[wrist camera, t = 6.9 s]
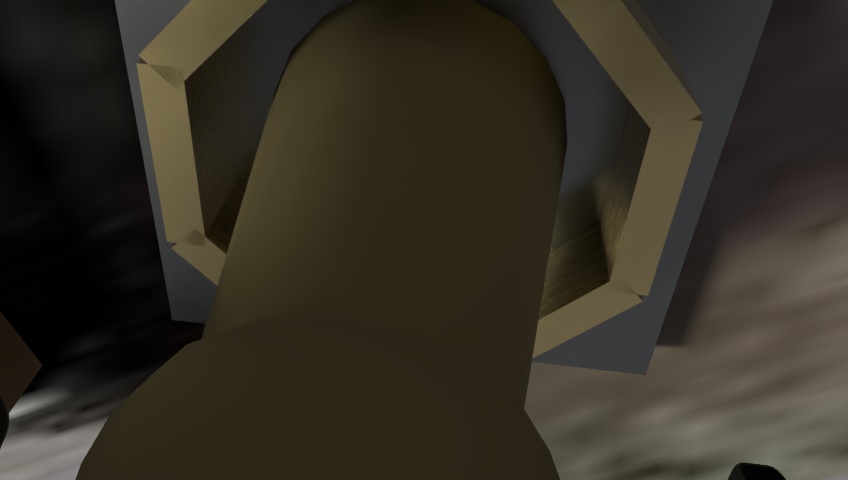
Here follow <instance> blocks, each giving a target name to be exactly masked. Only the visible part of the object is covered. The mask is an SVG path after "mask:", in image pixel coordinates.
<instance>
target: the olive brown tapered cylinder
mask: <svg viewBox="0 0 848 480" xmlns="http://www.w3.org/2000/svg"><path fill="white" fill-rule="evenodd" d="M567 144H568V143H567V126H566V110H565V100H564V97H563V95H562V93H561V90H560V88H559V86H558V84H557V81H556V79H555V77H554V75H553V72H552V70H551V68H550V65H549V63H548V61H547V59H546V57H545V56H544V55H543V54H542V53H541V52H540V51H539V50H538V49H537V48H536V47H535V46H534V45H533V43H532V42H531V41H530V40H529V39H528V38H527V37H526V36H525V35H524V34H523V33H522V32H521V31H520V30H519V28H518V27H517V26H516V25H515V24H514V23H513V22H511V21H509V20H507V19H506V18H504V17H502V16H500V15H498V14H496V13H494V12H493V11H491V10H489V9H487V8H485V7H483V6H482V5H480V4H478V3H476V2H474V1H472V0H355V1H353V2H351V3H349V4H347V5H345V6H343V7H341V8H339V9H337V10H335V11H334V12H332V13H330V14H328V15H326V16H324V17H322V18H321V19H320V20H319V21H318V22H317V24H316V25H315V26H314V27H313V28H312V29H311V30H310V31H309V32H308V33H307V34H306V35H305V36H304V37H303V38H302V39H301V41H300V42H299V43H298V44H297V45H296V46H295V47H294V48H293V49H292V50H291V53H290V55H289V58H288V60H287V62H286V65H285V67H284V70H283V72H282V74H281V77H280V79H279V82H278V84H277V87H276V89H275V92H274V95H273V99H272V102H271V106H270V109H269V112H268V116H267V119H266V123H265V126H264V129H263V133H262V136H261V140H260V143H259V146H258V150H257V153H256V157H255V160H254V163H253V167H252V170H251V174H250V177H249V180H248V184H247V187H246V191H245V194H244V197H243V201H242V204H241V207H240V211H239V214H238V218H237V221H236V224H235V228H234V231H233V235H232V238H231V241H230V245H229V248H228V252H227V255H226V258H225V262H224V265H223V269H222V272H221V275H220V279H219V282H218V286H217V289H216V292H215V296H214V299H213V302H212V306H211V309H210V313H209V316H208V319H207V323H206V326H205V330H204V333H203V336H202V339H201V340H198V341H196V342H193V343H190V344H187V345H186V346H185V347H184V348H183V349H181V350H180V351H179V352H178V353H177V354H175V355H174V356H173V357H172V358H171V359H170V360H168V361H167V362H166V363H165V364H164V365H163V366H161V367H160V368H159V369H158V370H157V371H156V372H154V373H153V374H152V375H151V376H150V377H149V378H147V379H146V380H145V381H144V382H143V383H142V384H141V385H140V386H139V387H138V388H137V389H136V390H135V391H134V392H133V393H132V394H131V395H130V396H129V397H128V398H127V399H126V400H125V401H124V402H123V403H122V404H121V405H120V406H119V407H118V408H117V409H116V410H115V411H114V412H113V413H112V414H111V415H110V416H109V418H108V419H107V421H106V423H105V425H104V426H103V428H102V430H101V431H100V433H99V435H98V436H97V438H96V440H95V441H94V443H93V445H92V446H91V448H90V450H89V451H88V453H87V455H86V456H85V458H84V460H83V462H82V463H81V466H80V469H79V471H78V474H77V477H76V480H560V478H559V475H558V473H557V470H556V467H555V464H554V462H553V459H552V456H551V453H550V451H549V449H548V448H547V446H546V444H545V443H544V441H543V439H542V438H541V436H540V435H539V433H538V431H537V430H536V428H535V426H534V425H533V423H532V422H531V420H530V418H529V417H528V415H527V413H526V412H525V410H524V405H525V399H526V393H527V387H528V381H529V375H530V369H531V363H532V357H533V350H534V344H535V338H536V332H537V326H538V320H539V314H540V308H541V302H542V296H543V290H544V284H545V278H546V271H547V265H548V259H549V253H550V247H551V241H552V235H553V229H554V223H555V217H556V211H557V205H558V199H559V192H560V186H561V180H562V174H563V168H564V162H565V156H566V150H567Z"/></svg>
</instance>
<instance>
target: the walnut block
mask: <svg viewBox="0 0 848 480" xmlns="http://www.w3.org/2000/svg"><path fill="white" fill-rule="evenodd" d="M41 367H42V364H41V363H40V362H39V360H38V359H37V358H36V356H35V355H34V354H33V353H32V351H31V350H30V349H29V347H28V346H27V345H26V344H25V342H24V341H23V340H22V338H21V337H20V336H19V335H18V333H17V332H16V331H15V329H14V328H13V327H12V326H11V324H10V323H9V322H8V320H7V319H6V318H5V316H4V315H3V314H2V313H1V311H0V393H1V395H2V398H3V400H4V403H5V406H6V408H7V411H8V414H9V412H10V411H11V410H12V408H13V407H14V405H15V404H16V402H17V401H18V400H19V398H20V397H21V395H22V394H23V392H24V391H25V390H26V388H27V387H28V385H29V384H30V382H31V381H32V380H33V378H34V377H35V375H36V374H37V373H38V371H39V370H40V368H41Z"/></svg>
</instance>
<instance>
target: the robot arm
mask: <svg viewBox="0 0 848 480" xmlns="http://www.w3.org/2000/svg"><path fill="white" fill-rule="evenodd" d="M8 427H9V414H8V411H7V408H6V406H5V403H4V400H3V398H2V395H1V393H0V448H1V446H2V444H3V441H4V439H5V437H6V434H7V431H8ZM728 480H786V479H785V478H784V476H783V475H782V474H781V473H780V472H779V471H778V470H776V469H775V468H773V467H771V466H768V465H760V464H752V463H739V464H737V465H736V466H735V467H734V468H733V470H732V472H731V474H730V476H729V478H728Z"/></svg>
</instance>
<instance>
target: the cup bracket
mask: <svg viewBox="0 0 848 480" xmlns="http://www.w3.org/2000/svg"><path fill="white" fill-rule="evenodd" d="M353 1H355V0H115V4H116V10H117V15H118V21H119V26H120V32H121V37H122V43H123V48H124V54H125V59H126V65H127V71H128V76H129V82H130V87H131V93H132V98H133V104H134V109H135V115H136V121H137V126H138V132H139V137H140V143H141V148H142V154H143V159H144V165H145V171H146V176H147V182H148V187H149V193H150V198H151V204H152V209H153V215H154V220H155V226H156V232H157V237H158V243H159V248H160V254H161V259H162V265H163V270H164V276H165V282H166V287H167V293H168V298H169V304H170V309H171V315H172V320H180V321H188V322H197V323H207V319H208V316H209V313H210V309H211V306H212V302H213V299H214V296H215V292H216V289H217V286H218V282H219V279H220V275H221V272H222V269H223V265H224V262H225V258H226V255H227V252H228V248H229V245H230V241H231V238H232V235H233V231H234V228H235V224H236V221H237V218H238V214H239V211H240V207H241V204H242V201H243V197H244V194H245V191H246V187H247V184H248V180H249V177H250V174H251V170H252V167H253V163H254V160H255V157H256V153H257V150H258V146H259V143H260V140H261V136H262V133H263V129H264V126H265V123H266V119H267V116H268V112H269V109H270V106H271V102H272V99H273V95H274V92H275V89H276V87H277V84H278V82H279V79H280V77H281V74H282V72H283V70H284V67H285V65H286V62H287V60H288V58H289V55H290V53H291V50H292V49H293V48H294V47H295V46H296V45H297V44H298V43H299V42H300V41H301V39H302V38H303V37H304V36H305V35H306V34H307V33H308V32H309V31H310V30H311V29H312V28H313V27H314V26H315V25H316V24H317V22H318V21H319V20H320V19H321V18H322V17H324V16H326V15H328V14H330V13H332V12H334V11H335V10H337V9H339V8H341V7H343V6H345V5H347V4H349V3H351V2H353ZM472 1H474V2H476V3H478V4H480V5H482V6H483V7H485V8H487V9H489V10H491V11H493V12H494V13H496V14H498V15H500V16H502V17H504V18H506V19H507V20H509V21H511V22H513V23H514V24H515V25H516V26H517V27H518V28H519V30H520V31H521V32H522V33H523V34H524V35H525V36H526V37H527V38H528V39H529V40H530V41H531V42H532V43H533V45H534V46H535V47H536V48H537V49H538V50H539V51H540V52H541V53H542V54H543V55H544V56H545V57H546V59H547V61H548V63H549V65H550V68H551V70H552V72H553V75H554V77H555V79H556V81H557V84H558V86H559V88H560V90H561V93H562V95H563V97H564V100H565V110H566V126H567V143H568V144H567V150H566V156H565V162H564V168H563V174H562V180H561V186H560V192H559V199H558V205H557V211H556V217H555V223H554V229H553V235H552V241H551V247H550V253H549V259H548V265H547V271H546V278H545V284H544V290H543V296H542V302H541V308H540V314H539V320H538V326H537V332H536V338H535V344H534V350H533V357H532V362H540V363H548V364H557V365H565V366H574V367H582V368H591V369H599V370H608V371H617V372H625V373H634V374H642V375H646V372H647V369H648V366H649V363H650V360H651V357H652V354H653V351H654V348H655V345H656V343H657V340H658V337H659V334H660V331H661V328H662V325H663V322H664V319H665V316H666V313H667V310H668V307H669V305H670V302H671V299H672V296H673V293H674V290H675V287H676V284H677V281H678V278H679V275H680V272H681V269H682V267H683V264H684V261H685V258H686V255H687V252H688V249H689V246H690V243H691V240H692V237H693V234H694V231H695V229H696V226H697V223H698V220H699V217H700V214H701V211H702V208H703V205H704V202H705V199H706V196H707V193H708V191H709V188H710V185H711V182H712V179H713V176H714V173H715V170H716V167H717V164H718V161H719V158H720V155H721V153H722V150H723V147H724V144H725V141H726V138H727V135H728V132H729V129H730V126H731V123H732V120H733V117H734V115H735V112H736V109H737V106H738V103H739V100H740V97H741V94H742V91H743V88H744V85H745V82H746V79H747V76H748V74H749V71H750V68H751V65H752V62H753V59H754V56H755V53H756V50H757V47H758V44H759V41H760V38H761V36H762V33H763V30H764V27H765V24H766V21H767V18H768V15H769V12H770V9H771V6H772V3H773V0H472Z"/></svg>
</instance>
